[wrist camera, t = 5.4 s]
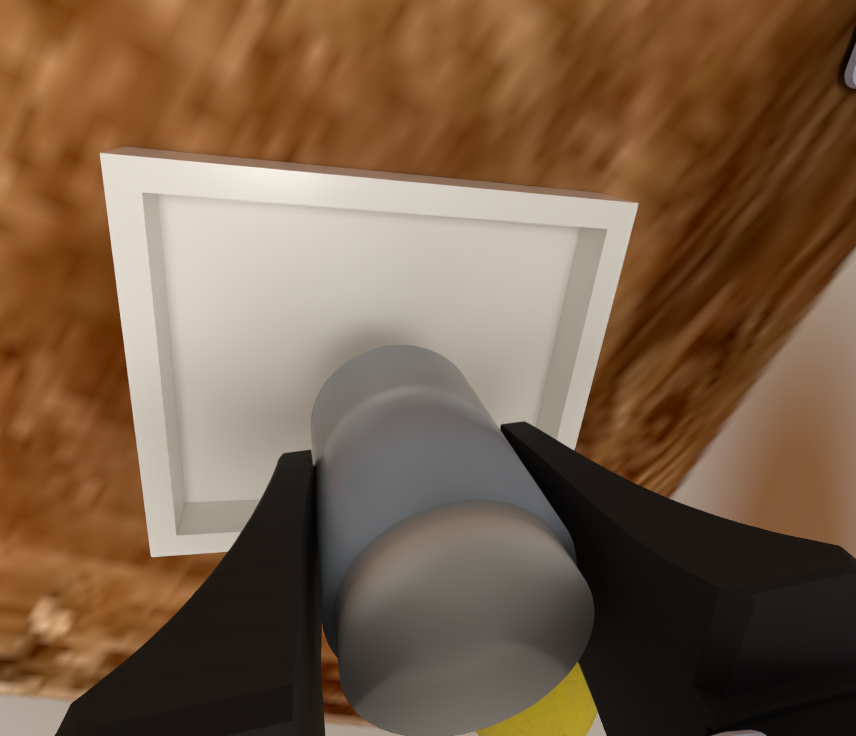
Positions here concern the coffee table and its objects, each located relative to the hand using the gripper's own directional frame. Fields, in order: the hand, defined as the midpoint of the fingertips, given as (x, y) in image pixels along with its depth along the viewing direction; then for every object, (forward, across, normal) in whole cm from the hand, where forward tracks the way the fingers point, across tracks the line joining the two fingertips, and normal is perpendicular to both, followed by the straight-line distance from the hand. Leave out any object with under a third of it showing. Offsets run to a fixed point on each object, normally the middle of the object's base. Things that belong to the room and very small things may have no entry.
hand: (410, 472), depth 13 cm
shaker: (+2, 0, 0) cm, 2 cm away
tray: (+6, 0, 0) cm, 6 cm away
